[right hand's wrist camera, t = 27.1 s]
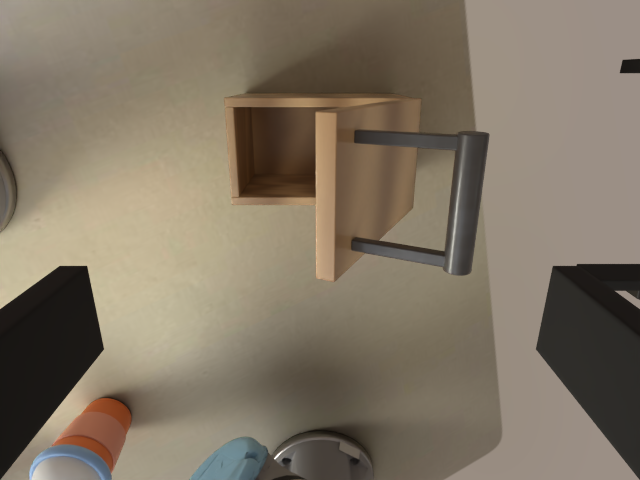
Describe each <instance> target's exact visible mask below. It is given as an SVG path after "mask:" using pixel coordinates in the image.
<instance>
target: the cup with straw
mask: <svg viewBox="0 0 640 480" xmlns="http://www.w3.org/2000/svg"><path fill="white" fill-rule="evenodd" d="M130 424H131V414H130V411H129V410H128V408H127V407H126V406H125V405H124V404H122V403H121V402H119V401H117V400H114V399H110V398H101V399H97V400H95V401H93V402H92V403H91V404H90V405H89V406H88V407H87V408H86V409H85V410H84V411H83V412H82V414H81V415H79V416H78V417H76V418H75V419H74V420H73V422H72V423H71V424H70V425H69V426H68V427H67V428H66V429H65V431H64V432H63V433H62V434H61V435H60V436H59V437H58V439H57V440H56V441H55V442H54V443H53V445H52V446H51V447H50V448H47V449H46V450H44V451H43V452H41V453H40V454H39V455H38V456H37V457H36V458H35V460H34V461H33V463H32V465H31V468H30V473H29V477H30V480H111V479H112V478H111V473H112V471H113V470H114V467H115V465H116V462H117V460H118V457H119V455H120V452H121V450H122V447H123V445H124V442H125V439H126V434H127V431H128V429H129V427H130Z"/></svg>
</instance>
